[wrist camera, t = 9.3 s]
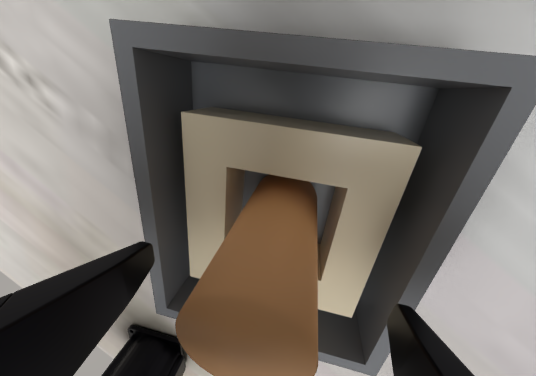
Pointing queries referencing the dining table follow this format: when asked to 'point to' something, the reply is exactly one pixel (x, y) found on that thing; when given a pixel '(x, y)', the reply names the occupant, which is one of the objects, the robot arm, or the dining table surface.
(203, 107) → the socket tray
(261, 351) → the peg
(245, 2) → the dining table surface
